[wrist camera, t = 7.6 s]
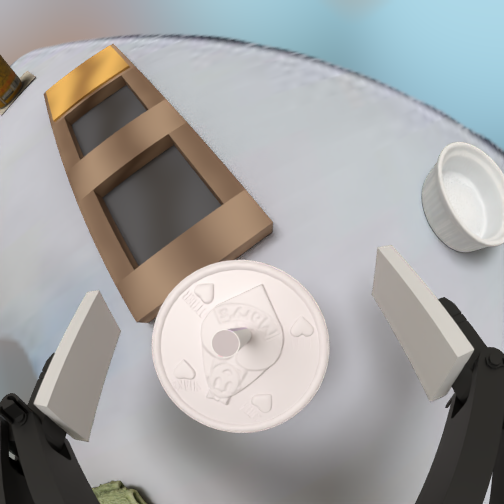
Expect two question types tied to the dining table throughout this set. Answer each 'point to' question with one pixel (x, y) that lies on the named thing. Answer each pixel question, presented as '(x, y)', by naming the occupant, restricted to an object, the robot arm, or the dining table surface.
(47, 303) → the dining table surface
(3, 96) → the condiment
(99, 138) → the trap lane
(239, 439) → the dining table surface
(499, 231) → the ramekin
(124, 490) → the washcloth
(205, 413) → the smoothie
